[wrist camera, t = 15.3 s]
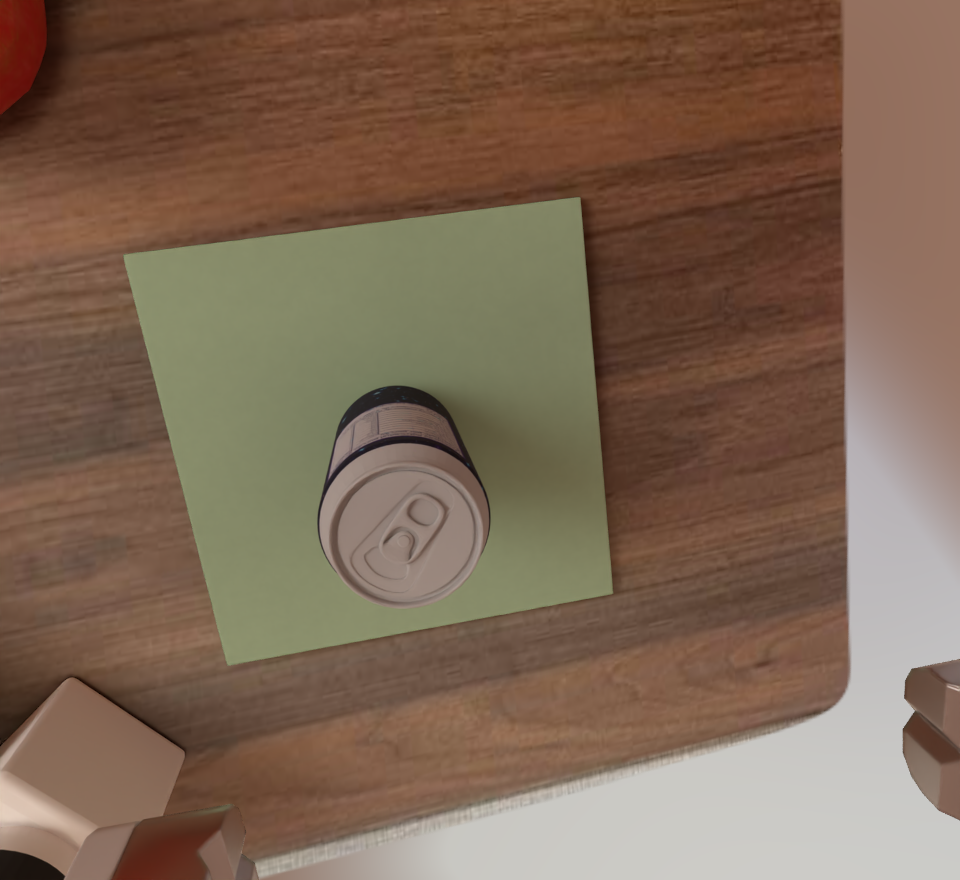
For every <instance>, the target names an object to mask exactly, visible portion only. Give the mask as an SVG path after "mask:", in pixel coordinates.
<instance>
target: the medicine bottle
mask: <svg viewBox="0 0 960 880" xmlns="http://www.w3.org/2000/svg"><path fill="white" fill-rule="evenodd" d="M184 758H185V752H184V751H183V750H182V749H181V748H179V747H178V746H176V745H175V744H173V743H172V742H170V741H169V740H167V739H166V738H164V737H163V736H161V735H160V734H158V733H157V732H155V731H154V730H152V729H151V728H149V727H148V726H146V725H145V724H143V723H142V722H140V721H139V720H137V719H136V718H134V717H133V716H131V715H130V714H128V713H127V712H125V711H124V710H122V709H121V708H120V707H118V706H117V705H115V704H114V703H112V702H111V701H109V700H108V699H106V698H105V697H103V696H102V695H100V694H99V693H97V692H96V691H94V690H93V689H91V688H90V687H88V686H87V685H85V684H84V683H82V682H81V681H79V680H78V679H76V678H68V679H67V680H65V681H64V682H63V683H62V684H61V685H60V686H59V687H58V688H57V689H56V690H55V691H54V692H53V693H52V694H51V695H50V696H49V697H48V698H47V699H46V700H45V701H44V702H43V703H42V704H41V705H40V706H39V707H38V708H37V709H36V710H35V711H34V713H33V714H32V715H31V716H30V717H29V718H28V719H27V720H26V721H25V722H24V723H23V724H22V725H21V726H20V727H19V728H18V729H17V730H16V731H15V732H14V733H13V734H12V735H11V736H10V737H9V738H8V739H7V740H6V741H5V742H4V743H3V744H2V745H1V746H0V880H64V878H65V876H66V874H67V872H68V871H69V869H70V867H71V865H72V863H73V861H74V859H75V857H76V855H77V853H78V851H79V849H80V847H81V845H82V843H83V842H84V840H85V839H86V837H87V836H88V835H90V834H91V833H92V832H93V831H95V830H96V829H97V828H102V827H107V826H113V825H118V824H124V823H130V822H135V821H142V820H143V819H148V818H154V817H159V816H163V813H164V811H165V808H166V806H167V803H168V800H169V798H170V795H171V793H172V790H173V787H174V785H175V782H176V779H177V777H178V774H179V772H180V769H181V766H182V764H183V761H184Z"/></svg>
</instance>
